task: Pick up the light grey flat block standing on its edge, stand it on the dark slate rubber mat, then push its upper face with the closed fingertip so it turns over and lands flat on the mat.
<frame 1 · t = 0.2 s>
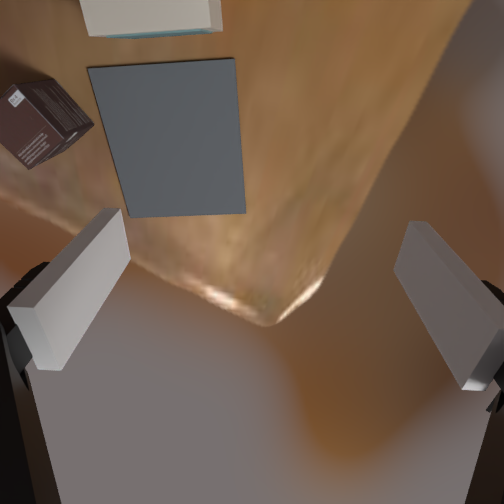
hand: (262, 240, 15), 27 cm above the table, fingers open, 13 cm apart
box: (60, 116, 39), on the table
light grey flat block: (172, 16, 33), on the table
mat: (176, 148, 40), on the table
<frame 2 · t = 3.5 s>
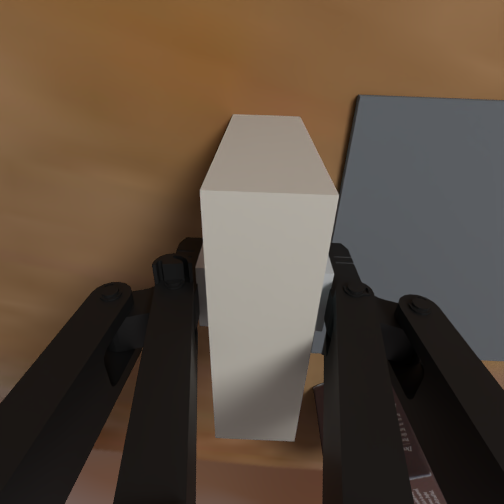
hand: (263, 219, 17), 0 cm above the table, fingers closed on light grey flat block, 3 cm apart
box: (360, 393, 26), on the table
light grey flat block: (261, 216, 17), on the table, touching gripper
mat: (488, 257, 18), on the table
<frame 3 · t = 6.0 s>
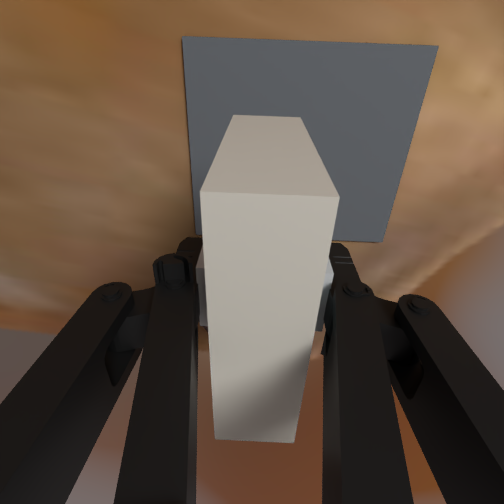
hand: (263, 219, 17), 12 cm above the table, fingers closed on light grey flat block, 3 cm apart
light grey flat block: (261, 216, 17), point 12 cm above the table, touching gripper
mat: (297, 153, 27), on the table
when the fingers open (1 cm above the table, at t = 8.5 s): light grey flat block stays where it is, resting on mat.
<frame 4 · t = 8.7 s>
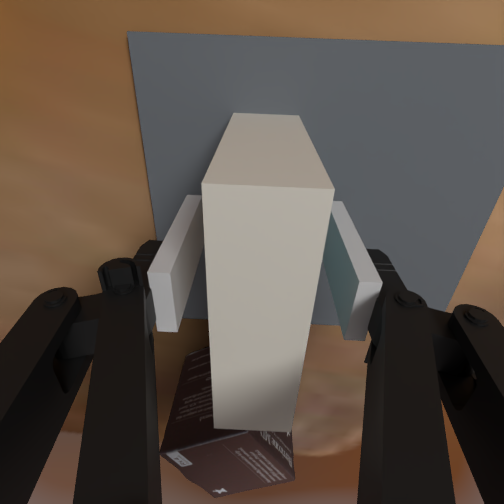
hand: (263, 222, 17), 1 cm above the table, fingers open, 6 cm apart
box: (238, 363, 25), on the table
light grey flat block: (260, 213, 18), resting on mat
mat: (317, 213, 18), on the table
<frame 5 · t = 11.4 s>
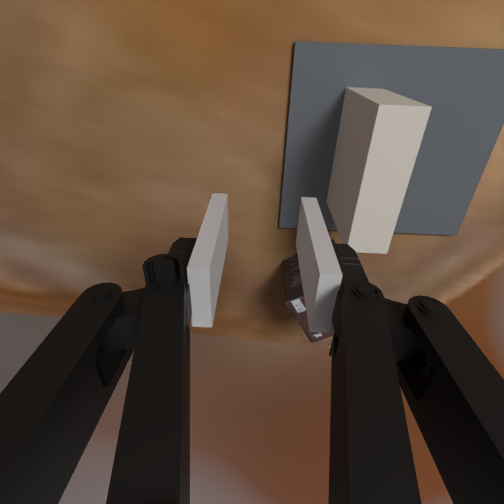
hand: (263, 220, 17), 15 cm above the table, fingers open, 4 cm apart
box: (317, 267, 37), on the table
light grey flat block: (352, 150, 29), resting on mat
mat: (386, 151, 29), on the table
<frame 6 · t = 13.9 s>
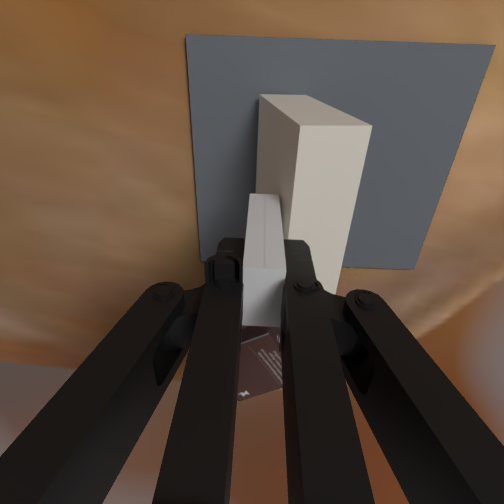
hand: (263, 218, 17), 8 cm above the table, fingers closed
box: (254, 304, 31), on the table
light grey flat block: (277, 172, 23), point 1 cm above the table, tilted 11°, touching mat
mat: (319, 171, 24), on the table
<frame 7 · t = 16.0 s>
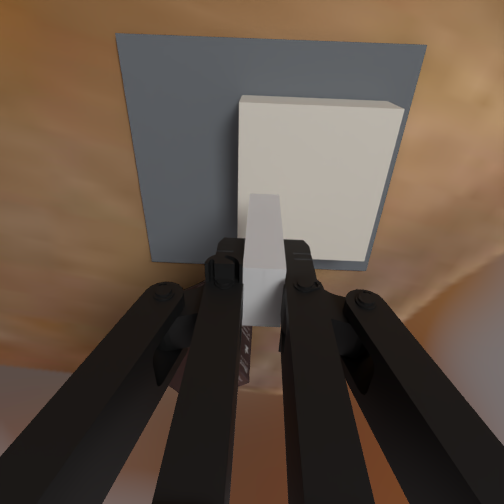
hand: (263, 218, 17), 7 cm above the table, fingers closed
box: (211, 305, 31), on the table
light grey flat block: (239, 180, 22), point 2 cm above the table, tilted 90°, touching mat
mat: (263, 171, 23), on the table
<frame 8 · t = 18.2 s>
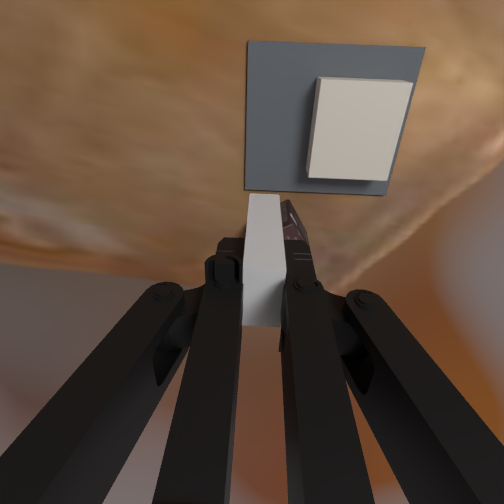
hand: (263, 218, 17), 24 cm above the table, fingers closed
box: (278, 224, 45), on the table
light grey flat block: (312, 128, 36), point 2 cm above the table, tilted 90°, touching mat
mat: (324, 126, 38), on the table
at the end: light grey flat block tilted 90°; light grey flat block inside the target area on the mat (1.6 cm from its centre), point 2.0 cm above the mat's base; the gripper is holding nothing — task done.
